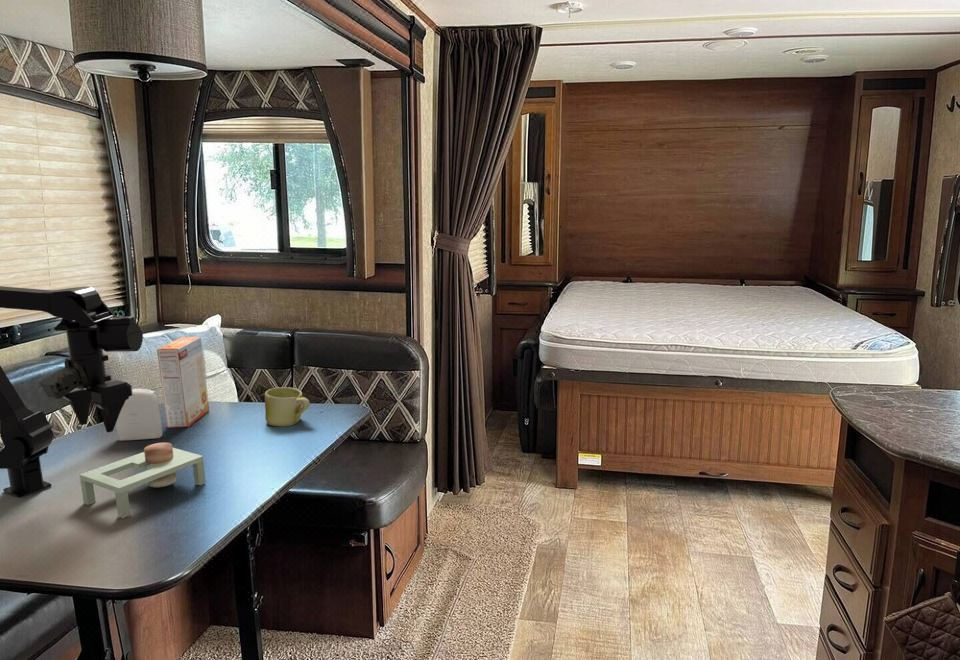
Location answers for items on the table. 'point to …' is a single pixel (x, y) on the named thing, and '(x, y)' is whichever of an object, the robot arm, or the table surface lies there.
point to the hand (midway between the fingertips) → (96, 428)
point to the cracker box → (183, 381)
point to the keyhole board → (137, 476)
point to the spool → (160, 455)
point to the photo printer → (139, 417)
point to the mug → (284, 406)
